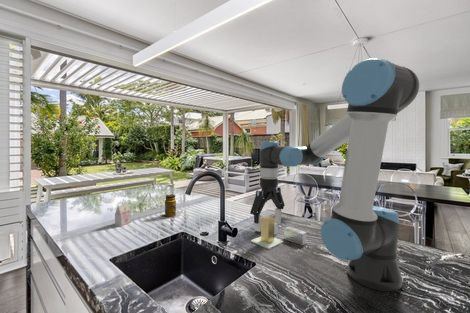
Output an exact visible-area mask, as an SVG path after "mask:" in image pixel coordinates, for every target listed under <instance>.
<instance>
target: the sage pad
mask: <svg viewBox="0 0 470 313" xmlns="http://www.w3.org/2000/svg"><path fill="white" fill-rule="evenodd" d="M250 242H251V243H253V244H255V245H257V246H260V247H262V248H264V249H266V250H271V249H273V248H275V247H277V246H279V245H281V244H284V243H285V242H284V240H282V239H279V238H276V237H274V241H273V242H270V243H266V242H263V241H261V235H260V236H259V237H255V238H253V239H251V240H250Z"/></svg>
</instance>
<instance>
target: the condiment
mask: <svg viewBox="0 0 470 313" xmlns="http://www.w3.org/2000/svg"><path fill="white" fill-rule="evenodd" d="M176 212H177V199H176V194H166V195H165V200H164V214H160V215H159V217H161V218H162V219H170V218H175V217H177V218H178V215H177V214H176Z"/></svg>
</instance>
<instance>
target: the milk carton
mask: <svg viewBox="0 0 470 313" xmlns="http://www.w3.org/2000/svg"><path fill="white" fill-rule="evenodd" d="M131 212H132V210H131V209H130V205H129V203H124V204H121V205H119V206H117V207H116V211H115V213H114V227H115V226H116V227H120V228H121V227H124V226H125V225H128V224H130V223H132V218H131V217H132V213H131Z"/></svg>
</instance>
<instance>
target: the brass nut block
mask: <svg viewBox="0 0 470 313" xmlns="http://www.w3.org/2000/svg"><path fill="white" fill-rule="evenodd" d="M274 222H275V217H272V216H270V215H266V216H263V217H261V231H260V236H261V241H263V242H266V243H270V242H273V241H274V238H275V235H274Z"/></svg>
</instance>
